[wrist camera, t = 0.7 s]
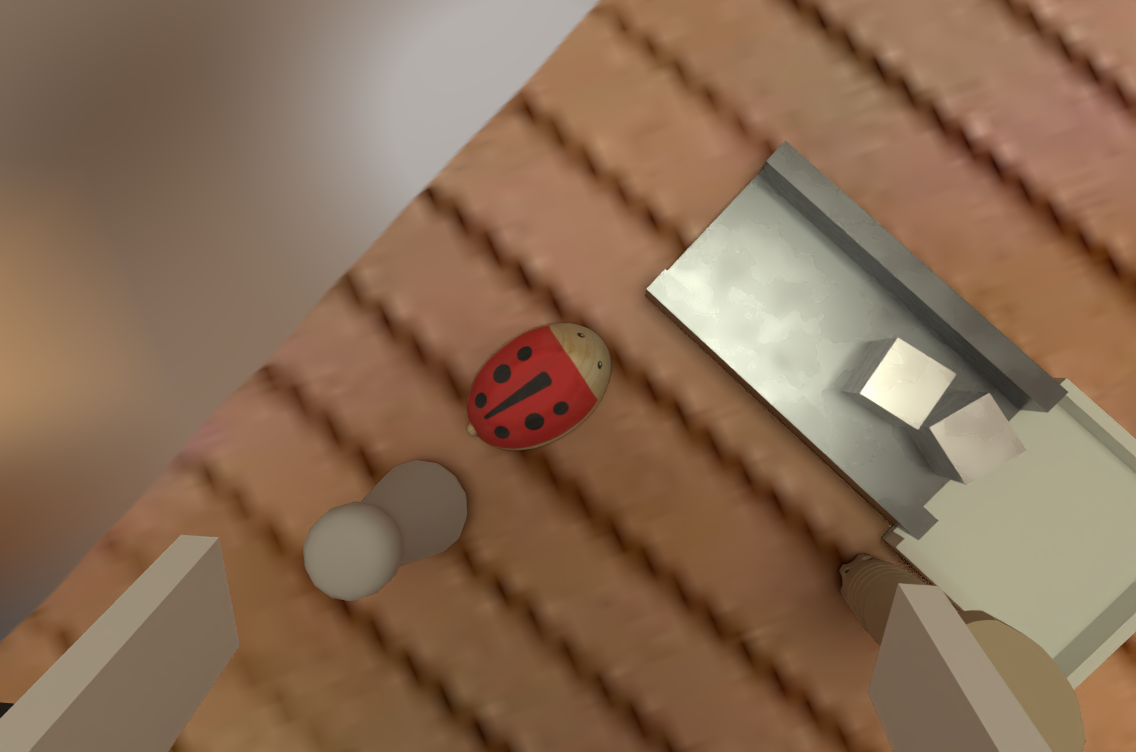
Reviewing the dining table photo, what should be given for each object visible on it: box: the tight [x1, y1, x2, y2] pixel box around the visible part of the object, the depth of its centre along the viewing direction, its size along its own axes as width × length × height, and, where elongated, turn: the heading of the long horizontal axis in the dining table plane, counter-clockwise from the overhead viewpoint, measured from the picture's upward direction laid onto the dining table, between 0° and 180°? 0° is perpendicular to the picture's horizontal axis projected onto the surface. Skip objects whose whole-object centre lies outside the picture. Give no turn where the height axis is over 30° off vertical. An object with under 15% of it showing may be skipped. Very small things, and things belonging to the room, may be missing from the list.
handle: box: [839, 554, 1086, 752], centre depth 32 cm, size 5×6×15 cm
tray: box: [881, 378, 1136, 690], centre depth 38 cm, size 12×13×2 cm
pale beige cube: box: [840, 338, 956, 430], centre depth 37 cm, size 4×4×4 cm
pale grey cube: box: [906, 391, 1027, 485], centre depth 37 cm, size 4×4×4 cm
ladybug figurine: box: [467, 323, 611, 450], centre depth 40 cm, size 7×10×4 cm
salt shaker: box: [303, 460, 467, 601], centre depth 36 cm, size 6×6×13 cm
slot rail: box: [645, 141, 1068, 540], centre depth 38 cm, size 20×11×4 cm, turn 46°
